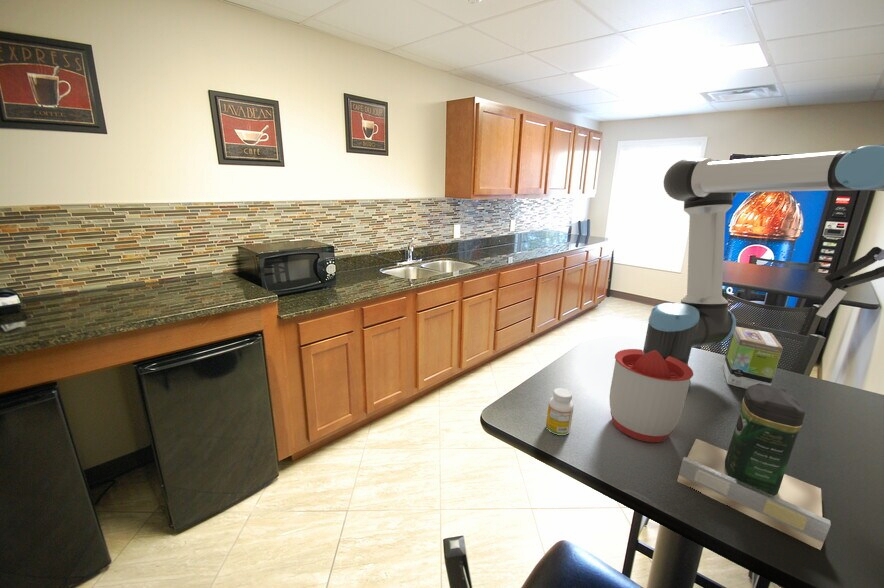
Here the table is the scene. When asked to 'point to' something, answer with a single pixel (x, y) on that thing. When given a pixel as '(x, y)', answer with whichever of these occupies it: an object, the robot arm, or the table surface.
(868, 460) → the table surface
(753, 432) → the coffee jar
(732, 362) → the tea box
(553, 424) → the supplement bottle
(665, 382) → the citrus juicer
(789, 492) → the shelf board
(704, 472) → the rail
